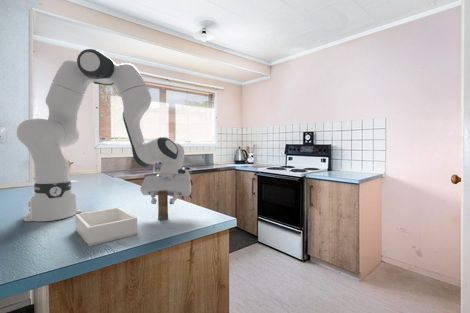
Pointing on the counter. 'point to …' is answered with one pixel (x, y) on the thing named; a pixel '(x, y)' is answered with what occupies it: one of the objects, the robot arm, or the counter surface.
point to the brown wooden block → (162, 205)
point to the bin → (105, 225)
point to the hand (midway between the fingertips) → (162, 203)
